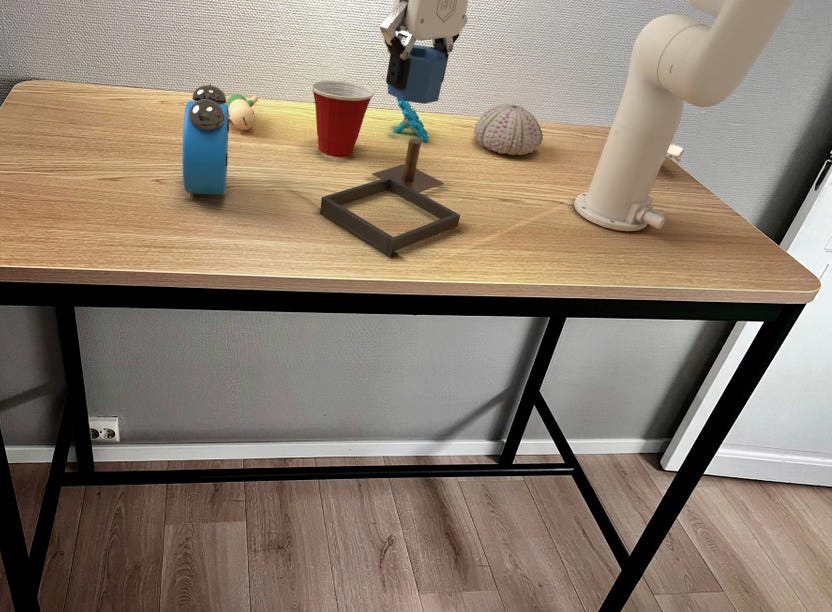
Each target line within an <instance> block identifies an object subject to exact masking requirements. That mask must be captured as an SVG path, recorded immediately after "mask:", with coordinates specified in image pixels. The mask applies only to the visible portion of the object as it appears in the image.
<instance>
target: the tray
mask: <svg viewBox="0 0 832 612" xmlns="http://www.w3.org/2000/svg"><path fill="white" fill-rule="evenodd" d="M386 191H389V192H391V193H393V194H395V195H397V196H398V197H400V198H401V199H404V200H405V201H407V202H409V203H411V204H412V205H414V206H416V207H418V208H420V209H422V210H423V211H425V212H427V213H429V214H430V215H432V216H434V217H436V218H438V219H437V220H434V221H432V222H430V223H427V224H423V225H422V226H420V227H416V228H413V229H411V230H409V231H406V232H403V233H401V234H400V233H399V234H398V235H395V236H392V235H391V234H390V233H387V232H386V231H384V230H383V229H381V228H379V227H378V226H376V225H374V224H373V223H371V222H370V221H367V220H366V219H364V218H362V217H361V216H359V215H358V214H357V213H354V212H353V211H351V210H349V209H347V208H346V207H344V205H345V204H348V203H351V202H355V201H357V200H358V201H359V200H360V199H364V198H367V197H370V196H373V195H376V194H380V193H383V192H386ZM320 201H321V202H320V207H319V208H320V210H319V214H320V215H321V216H323V217H324V218H326V219H328V220H329V221H331V222H332V223H334V224H335V225H337V226H339V227H340V228H342V229H343V230H344V231H347V232H348V233H350V234H352V236H355V237H356V238H358V239H359V240H361V241H363V242H364V243H366V244H367V245H369V246H371V247H372V248H374V249H375V250H377V251H379V252H380V253H382V254H383V255H385V256H387V257H388V258H393V257H397V256H399V255H400V254H399V253H398V252H397V251H398V250H401V249H404V248H406V247H409V246H411V245H414V244H416V243H418V242H421V241H423V240H426V239H428V238H432V237H433V236H435V235H439V234H441V233H443V232H446V231H449V230H451V229H454V228H456V227H458V226H459V223H460V219H461V214H460V213H458V212H456V211H454V210H452V209H450V208H448V207H447V206H445V205H443V204H441V203H439V202H437V201H436V200H434V199H432V198H431V197H428V196H427V195H425V194H423V193H422V192H417V191H415V190H414V189H412V188H410V187H408V186H406V185H405V184H403V183H401V182H399V181H397V180H395V179H394V178H392V177H387V178H383V179H377V180H374V181H369V182H368V183H364V184H361V185H357V186H354V187H350V188H347V189H344V190H341V191H337V192H333V193H331V194H328V195H324V196H322V197H321V200H320ZM342 205H343V206H342Z"/></svg>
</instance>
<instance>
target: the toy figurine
mask: <svg viewBox="0 0 832 612" xmlns="http://www.w3.org/2000/svg"><path fill="white" fill-rule="evenodd" d="M258 101H259V97H258V96H257V95H252V97H250V98H249V100H248V99H247V98H246V97H245V96H244V95H242V94H240V93H236V94H232V95H230V96H229V97H228V98H227V99H226V103H225V104H226V105H228V109H229V121H230V122H231V124H232V125H233V126H234V127H235V128H237V129H238V130H242V131H245V130H246V131H247V130H249V129H251V128H252V127H253V126H254V123H255V119H256V116H255V115H256V114H255V112H254V109H253V107H254V105H255V104H256V103H257V102H258Z"/></svg>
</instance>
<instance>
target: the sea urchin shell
mask: <svg viewBox="0 0 832 612" xmlns="http://www.w3.org/2000/svg"><path fill="white" fill-rule="evenodd" d="M473 129H474V131H473V133H474V138H476V141H477V142H478V145H480V146H482V148H485V149H487V150H489V151H492V152H496V153H498V154H503V155H504V154H507V155H511V156H515V155H518V156H523V155H528V154H530V153H531V154H532V153H533V151H537V149H538V148H539V147H540V146H541V145H542V142H543V140H544V138H543V136H544V134H543V130H542V127H541V125H540V123H539V122H538V119H537V118H536V117H535V115H533V114H532V113H531V111H528V110H527V109H525V108H524V107H523V106H521V105H516V104H510V103H500V104H497V105H495V106H492V107H491V108H488V109H487V111H484V113H483V115H481V116H480V117H479V119H478V120H477V121H476V123H475V124H474V128H473Z"/></svg>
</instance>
